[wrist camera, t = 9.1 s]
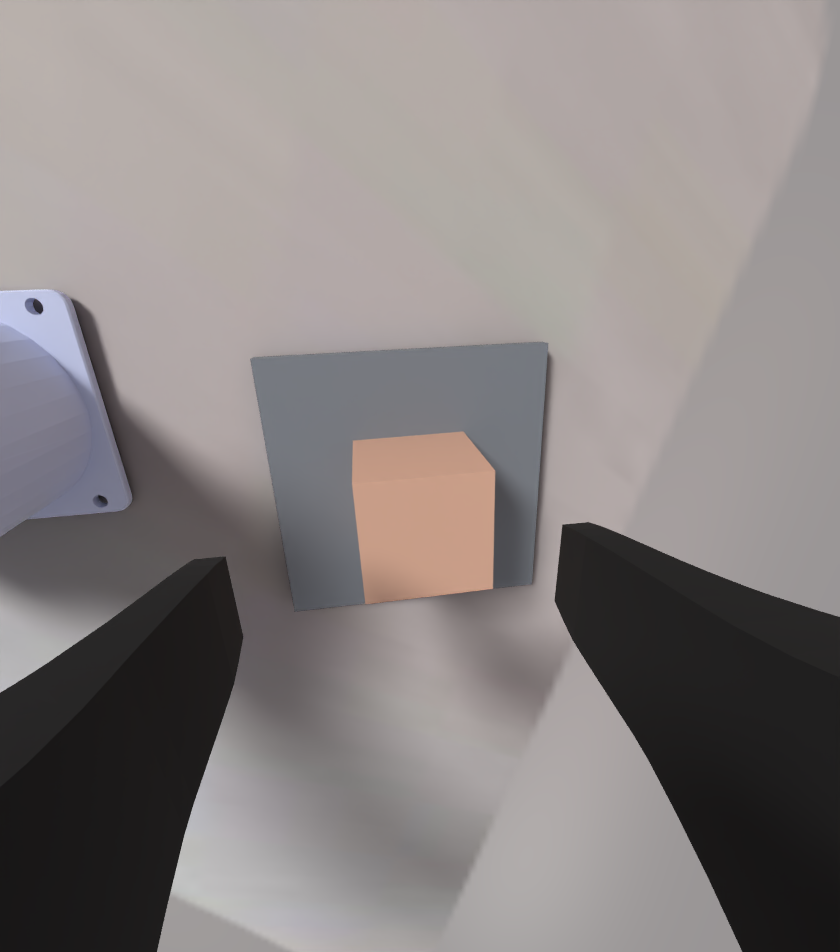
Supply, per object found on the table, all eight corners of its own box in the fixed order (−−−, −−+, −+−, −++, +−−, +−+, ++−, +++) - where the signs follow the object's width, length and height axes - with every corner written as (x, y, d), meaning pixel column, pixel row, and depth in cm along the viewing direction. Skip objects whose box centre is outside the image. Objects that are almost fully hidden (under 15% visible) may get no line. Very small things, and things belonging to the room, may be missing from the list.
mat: (296, 603, 20) (294, 611, 20) (253, 357, 16) (250, 359, 16) (527, 576, 22) (531, 584, 21) (542, 341, 17) (548, 343, 17)
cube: (363, 539, 19) (365, 604, 15) (352, 440, 17) (351, 483, 13) (464, 528, 19) (492, 588, 15) (463, 431, 18) (495, 470, 14)
